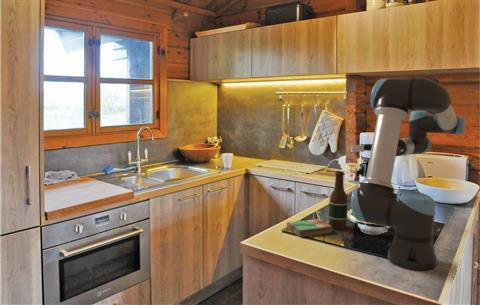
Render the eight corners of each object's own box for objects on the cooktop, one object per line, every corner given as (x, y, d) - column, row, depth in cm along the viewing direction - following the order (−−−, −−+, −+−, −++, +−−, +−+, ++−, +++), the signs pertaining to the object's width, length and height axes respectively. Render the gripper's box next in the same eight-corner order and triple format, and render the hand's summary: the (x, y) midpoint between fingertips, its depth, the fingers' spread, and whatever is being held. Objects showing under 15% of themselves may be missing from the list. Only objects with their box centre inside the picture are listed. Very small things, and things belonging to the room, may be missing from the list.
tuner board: (332, 232, 160) (332, 226, 159) (299, 237, 154) (300, 230, 154) (317, 224, 170) (317, 218, 169) (286, 228, 164) (286, 222, 164)
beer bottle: (333, 223, 172) (335, 169, 168) (349, 226, 167) (352, 171, 163) (324, 227, 166) (326, 171, 162) (341, 231, 161) (344, 174, 157)
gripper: (423, 159, 163) (383, 164, 155) (380, 151, 186) (343, 155, 178) (423, 142, 162) (384, 146, 154) (380, 136, 185) (343, 139, 176)
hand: (362, 151), depth 166 cm, fingers open, 13 cm apart
